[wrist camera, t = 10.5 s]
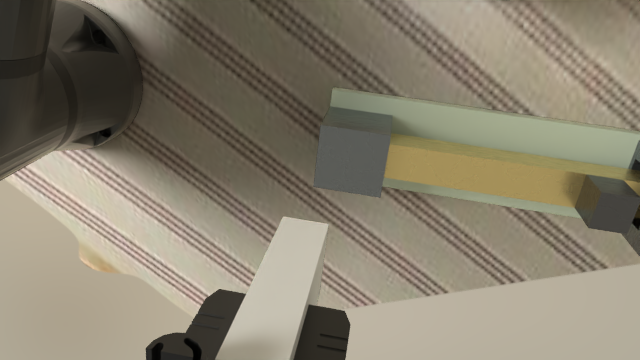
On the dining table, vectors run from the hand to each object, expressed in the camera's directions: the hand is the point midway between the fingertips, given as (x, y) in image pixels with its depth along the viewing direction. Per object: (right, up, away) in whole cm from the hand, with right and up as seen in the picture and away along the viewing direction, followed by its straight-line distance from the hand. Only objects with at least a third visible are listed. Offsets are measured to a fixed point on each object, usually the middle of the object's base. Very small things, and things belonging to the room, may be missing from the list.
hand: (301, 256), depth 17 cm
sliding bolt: (+18, +4, +30) cm, 36 cm away
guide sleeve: (+4, +6, +33) cm, 34 cm away
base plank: (+18, +5, +33) cm, 38 cm away
